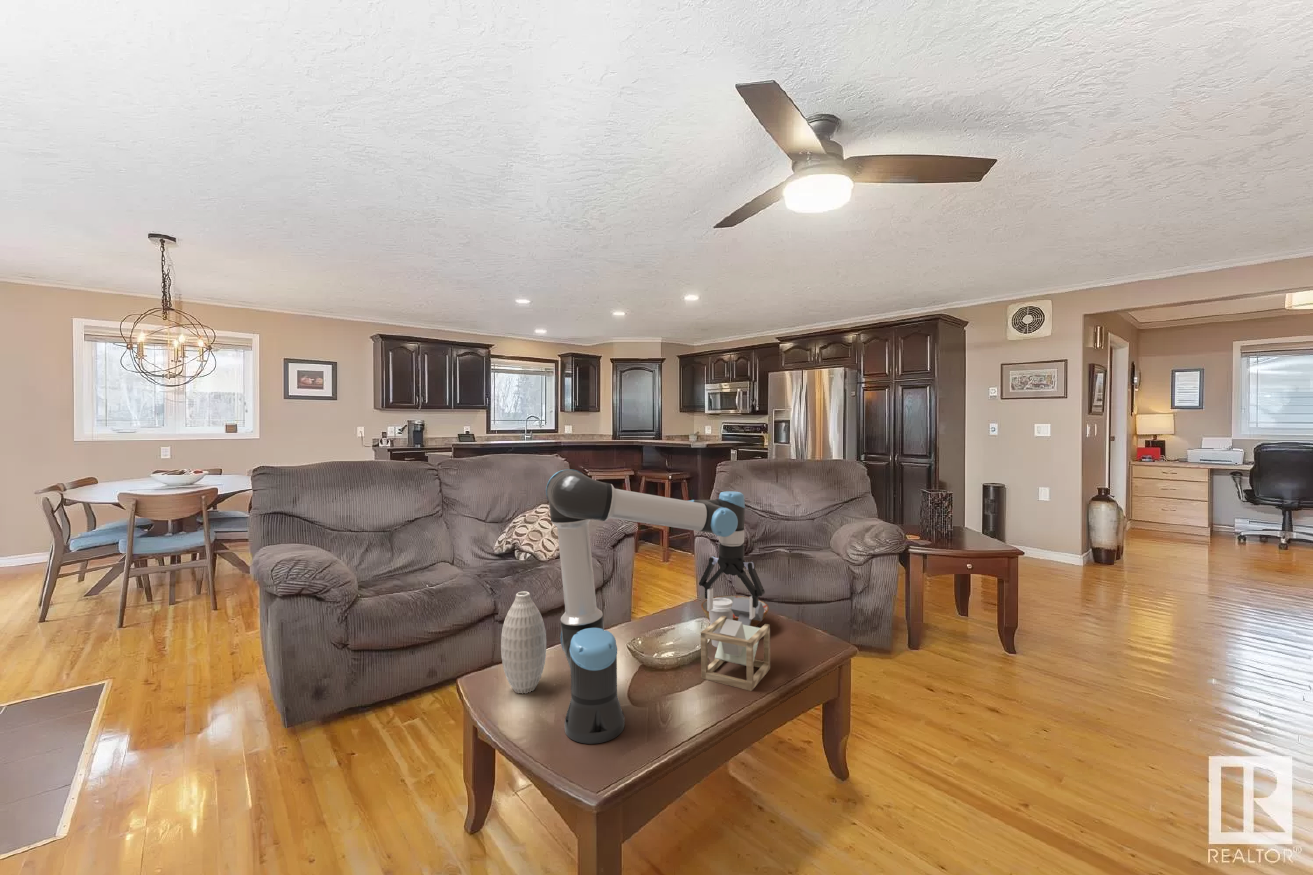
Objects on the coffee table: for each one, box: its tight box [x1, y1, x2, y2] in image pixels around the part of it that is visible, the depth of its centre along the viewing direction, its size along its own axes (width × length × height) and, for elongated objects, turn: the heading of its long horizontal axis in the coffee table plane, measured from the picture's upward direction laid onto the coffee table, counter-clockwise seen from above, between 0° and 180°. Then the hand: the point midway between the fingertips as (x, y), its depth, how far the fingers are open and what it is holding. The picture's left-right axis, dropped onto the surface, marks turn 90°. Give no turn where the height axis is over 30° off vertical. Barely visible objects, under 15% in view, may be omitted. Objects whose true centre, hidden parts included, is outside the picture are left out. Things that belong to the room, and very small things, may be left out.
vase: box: [500, 591, 547, 695], centre depth 160 cm, size 13×13×28 cm
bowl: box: [700, 594, 770, 627], centre depth 207 cm, size 25×25×8 cm
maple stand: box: [700, 616, 771, 692], centre depth 169 cm, size 16×16×14 cm
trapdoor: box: [714, 598, 765, 666], centre depth 172 cm, size 20×12×5 cm
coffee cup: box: [709, 598, 733, 649], centre depth 191 cm, size 10×10×15 cm
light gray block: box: [719, 619, 746, 656], centre depth 167 cm, size 6×5×8 cm
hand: (730, 613), depth 166 cm, fingers open, 13 cm apart
